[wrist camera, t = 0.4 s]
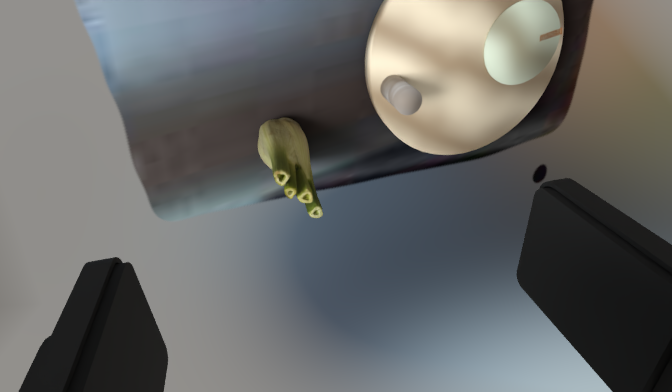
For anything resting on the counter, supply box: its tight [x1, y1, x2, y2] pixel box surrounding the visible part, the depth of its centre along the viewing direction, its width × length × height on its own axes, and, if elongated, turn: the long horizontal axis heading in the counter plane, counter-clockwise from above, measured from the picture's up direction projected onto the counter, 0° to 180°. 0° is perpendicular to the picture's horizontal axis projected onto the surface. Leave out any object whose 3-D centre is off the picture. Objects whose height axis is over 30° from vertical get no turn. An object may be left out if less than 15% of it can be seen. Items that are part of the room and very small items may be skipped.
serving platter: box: [365, 0, 564, 155], centre depth 39 cm, size 20×20×6 cm
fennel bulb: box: [258, 117, 323, 218], centre depth 37 cm, size 6×5×12 cm
